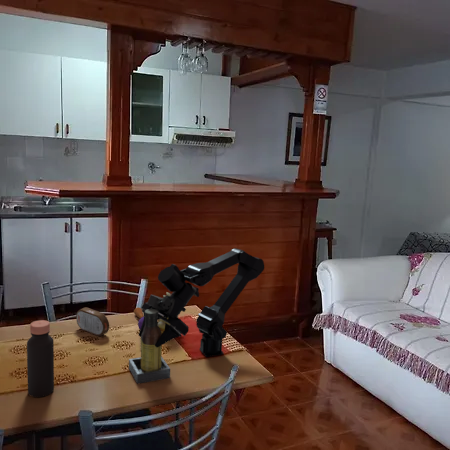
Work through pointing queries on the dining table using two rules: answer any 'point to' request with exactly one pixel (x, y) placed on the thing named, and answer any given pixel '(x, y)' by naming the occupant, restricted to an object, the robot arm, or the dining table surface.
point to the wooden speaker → (92, 321)
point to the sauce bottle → (150, 342)
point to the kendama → (139, 313)
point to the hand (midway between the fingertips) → (147, 341)
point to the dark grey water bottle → (40, 360)
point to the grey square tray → (148, 375)
